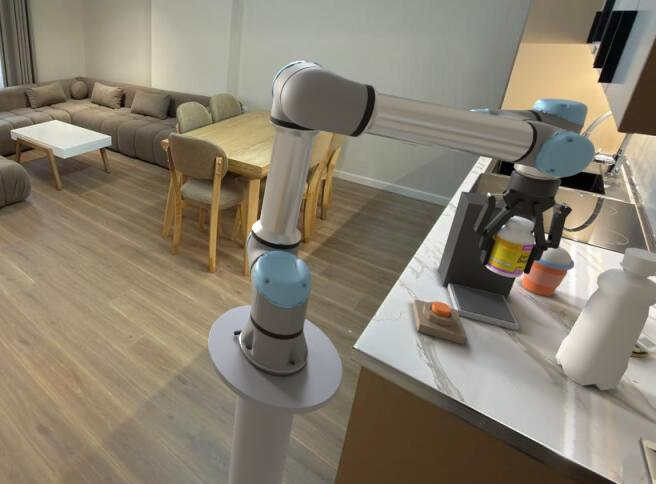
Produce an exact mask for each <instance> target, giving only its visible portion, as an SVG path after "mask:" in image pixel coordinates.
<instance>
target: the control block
mask: <svg viewBox="0 0 656 484" xmlns="http://www.w3.org/2000/svg"><path fill="white" fill-rule="evenodd" d="M434 302H435V301H425V300H420V299H416V298H414V300H413V303H412V309H413V314H414V315H413V316H414V320H415V325H416V330H417V332H419V333H422V334H425V335H429V336H432V337H436V338H438V339H443V340H447V341H450V342H453V343H457V344H460V345H465V342H466V339H467V336H466V333H465V329H464V327H463V323H462V321H461V318H460V315H458V312H457V310H456V309H454V308H452V307H450V308H451V312H450V315H449V317H442V316H439V315H437V314H435V313H434V312H432V310H431V308H432V305H433V303H434Z"/></svg>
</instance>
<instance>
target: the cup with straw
mask: <svg viewBox="0 0 656 484" xmlns="http://www.w3.org/2000/svg"><path fill="white" fill-rule="evenodd" d="M563 234H564V231H563V232H562V236H563ZM562 236H561V238H562ZM574 267H575V261H574V259H572V256H571V255H570V253H569V252H568V250H566V249H565V248H563V247H562V246H559V248H557V249H553V248H548V250H547V251H544V252H543V255H542V257H541V259H540V260H539V261H535V260H534V263H533V265H532V268H531V270H530V273H529V274H524V273H523V278H522V283H521V284H522V286H523V287H524V288H525V289H526V290H527V291H530V292H532V293H533V294H536V295H539V296H544V297H550V296H552V295H553V294H554V293H555V291H556V290H557V288H558V287H560V285H561V284H562V282H563V281H564V279H565V277H566V275H567V274H568V271H569V270H572V269H573V268H574Z"/></svg>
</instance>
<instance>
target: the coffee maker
mask: <svg viewBox="0 0 656 484" xmlns="http://www.w3.org/2000/svg"><path fill="white" fill-rule="evenodd" d="M485 202H486V194H483V193H475V192H468V191H461V193H460V195H459V199H458V202H457V204H456V205H457V206H456V209H455V211H454V216H453V219H452V223H451V225H450V229H449V232H448V234H447V240H446V242H445V246H444V248H443V252H442V256H441V259H440V262H439V266H438V268H437V272H438V275H439V279H440V281H441V284H442V287H446V288H447V290H448V294H449V297H450V300H451V303H452V307H453V309H456V310H457V312H458V315H459V317H460V316H461V317H464V318H467V319H472V320H475V321H479V322H484V323H488V324H492V325H495V326H498V327H502V328H506V329H511V330H513V331H514V330H515V331H518V329H519V328H520V324H519V322H518V320H517V318H516V316H515V314H514V312H513V311H512V309H511V307H510V305H509V302H508V300H509V297H510V295H511V291H512V289H513V286H514V284H515V281H516V279H517V277H506V276H502V275H499V274H497V273H495V272H493V271H491V270H489V269H488V268H487V267H486V266H485V265H482V262H481V260H480V256H481V253H482V250H481V249H480V247H479V243H480V240H481V237H482V236H481V235H477V234H476V232H475V230H474V228H473V227H474V225H475V223H476V221H477V219H478V217H479V214H480V212H481V210H482V208H483V206H484V204H485ZM505 205H506V203H505V201H504V199H501V200H500V201H499V203H498V204H496V205H495V209H494V211H493V213H492V215H491V217H490V219H489V221H488V223H487V225H486V227H487V226H488V225H489V223H490V222H491V221H492V220H493V219H494V218H495V217H496V216H497V215H498V214H499V213H500V212H501V210H502V208H503V207H504V206H505ZM515 216H518V217H522V218H525V219H528V220H530V221H532V217H531V216H528V215H525V214H516V215H515ZM504 225H505V224H504ZM486 227H485V228H486ZM531 233H532V234H533V235H534V231H533V230H532V231H531Z"/></svg>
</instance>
